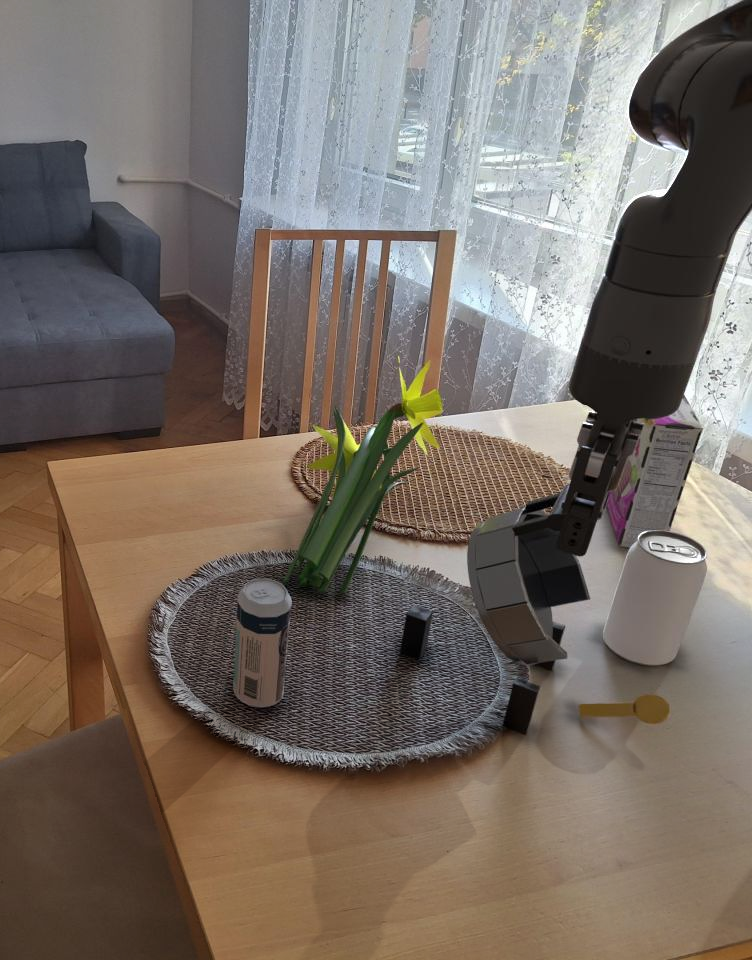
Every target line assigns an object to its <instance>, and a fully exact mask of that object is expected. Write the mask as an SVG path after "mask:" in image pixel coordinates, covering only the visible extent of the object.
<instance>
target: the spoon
mask: <svg viewBox="0 0 752 960" xmlns="http://www.w3.org/2000/svg"><path fill="white" fill-rule="evenodd" d="M578 713H579V717H580V718H618V717H619V718H622V717H636V719H637V720H639V722H642V723H645V724H649V725H657V724H661V723H664V722H665V721H666V720H667V719H669V717H670V715H671V706H670V704H669V702H668V701H667V700H666V699H665V698H664V697H662V696H660V695H658V694H652V693H648V694H647V693H646V694H642V695H640V696H638V697H637V698H635V699H634V700H633V702H602V703H598V702H597V703H579V704H578Z"/></svg>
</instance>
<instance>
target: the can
mask: <svg viewBox="0 0 752 960" xmlns="http://www.w3.org/2000/svg"><path fill="white" fill-rule="evenodd" d="M707 557H708V552H707V549H706V548H705V547H704V546H703V545H702V544H701V542H699V541H697V540H695V539H694V538H692V537H689V536H687V535H684V534H682V533H678V532H673V531H671V530H670V531H663V530H651V531H646V532H643V533H641V534H640V535H639V536H638V538H637V542H635V543H634V544H633V545H632V546H631V547H630V549H628V551H627V554H626V557H625V559H624V563H623V565H622V569H621V573H620V575H619V580H618V582H617V585H616V589H615V592H614V595H613V598H612V602H611V604H610V608H609V611H608V614H607V617H606V621H605V624H604V628H603V632H602V638H603V641H604V643H605V644H606V646H607V648H608V649H609V650H610V651H611V652H612V653H614V654H615V655H617V656H618V657H619V658H622V659H624V660H625V661H627V662H631V663H633V664H637V665H640V666H647V667H657V666H663V665H666V664H669V663H671V662H672V661H674V660H675V659H676V658H677V654H678V652H679V650H680V648H681V645H682V642H683V639H684V636H685V634H686V631H687V628H688V625H689V623H690V621H691V618H692V615H693V612H694V609H695V607H696V605H697V602H698V599H699V595H700V593H701V590H702V587H703V584H704V582H705V578H706V576H707V572H708V565H707V561H706V559H707Z"/></svg>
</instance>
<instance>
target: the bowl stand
mask: <svg viewBox="0 0 752 960" xmlns="http://www.w3.org/2000/svg"><path fill="white" fill-rule="evenodd" d="M433 615H434V610H431V609H428V608H426V607H423V606H420V605H417V604H412V605H411V607H410V608H409V609H408V611H407V612H406V614H405V619H404V625H403V633H402V636H401V637H402V638H401V643H400V644H401V645H400V649H399V654H402V655H404V656H407V657H410V658H412V659H415V660H418V661H421V658H422V657H423V655H424V654H425V652H426V650H427V646H428V641H429V635H430V630H431V625H432V619H433ZM565 629H566V625H565V624H563V623H559V622H556V621H553V635H552V639H553V640H554V641H555V642H556V643H557V644H558V645H559V646H561V644H562V640H563V636H564V633H565ZM556 661H557V660H554V661H547V662H540V663H537V664H533V666H536V667H539V668H542V669H545V670H548V671H551V672H552V671H553V670H554V667H555V665H556ZM540 689H541V685H538V684H535V683H532V682H530V681H527V680H525V679H521V678H520V677H515V679H514V681H513V684H512V686H511V691H510V695H509V699H508V703H507V706H506V710H505V715H504V718H503V721H502V727H504V728H507V729H510V730H513V731H515V732H517V733H520V734H523V735H525V736H526V735H527V734H528V731H529V729H530V726H531V722H532V718H533V715H534V710H535V709H536V708H535V707H536V703H537V700H538V696H539V693H540Z"/></svg>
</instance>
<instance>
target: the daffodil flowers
mask: <svg viewBox="0 0 752 960" xmlns="http://www.w3.org/2000/svg"><path fill="white" fill-rule="evenodd" d="M397 358H398V362H400V360H401V359H400V355H398V357H397ZM430 366H431V359H429V360H428V361H427V362H426V363H425V365H424V366H423V367H422V368H421V369H420V371H419V372H418V373H417V375H416V376H415V378H414V379H413V381H412V382H411V384H410V386H409V387H408V389H407V385H406V382H405V379H404V377H403V374H402V370H401V367H400V366H398V369H399V370H398V371H399V378H400V385H401V401H400V402H397V403H395V404H393V405H392V406H391V407H390V408H388V409H387V411H386V412H385V414H383V415H382V417H381V418H380V420H379V421H378V423H377V424H376V427H374V426H373V427H370V428H369V429H368V431H367V432H366V433H365V435H364V436H363V439H362V440H361V443H358V444H357V442H356V441H355V439H354V436H353V434H352V432H351V431H350V428H349V427H348V425H347V424H346V422H345V421H344V420H343V417H342V415H341V413H340V411H339V410H338V407H337V406H336V405H334V408H333V417H334V422H335V427H336V435H335V434H333V433H332V432H330V431H327V430H326V429H324V428H322V427H319V426H317V425H315V424H312V428H313V429H314V430H315V432H316V433H318V434H319V435H320V436H321V438H323V440H325V442H326V443H327V444H328V445H329V447H330V448H331V449H332V450H333V451H334V452H332V453H330V454H327V455H324V456H323V457H320V458H318V459H316V460H315V461H312V462H311V463H309V464H308V465H307V468H308V469H311V470H320V471H328V472H329V471H330V472H332V473H331V474H330V477H329V479H328V481H327V483H326V485H325V487H324V489H323V492H322V494H321V496H320V499H319V500H318V503H317V505H316V508H315V510H314V511H313V514H312V517H311V519H310V521H309V523H308V526H307V527H306V530H305V532H304V534H303V537H302V540H301V542H300V544H299V546H298V549H297V550H296V553H295V555H294V557H293V559H292V561H291V563H290V565H289V567H288V570H287V571H286V574H285V576H284V578H283V579H282V582H281V583H282V585H283V586H284V587H285V586H286V585H287V584H288V582H289V580H290V578H291V576H292V574H293V572H294V573H298V572H299V571H300V569H301V568H302V567H303V568H302V570H301V573H300V574H299V576H298V578H297V582H298V587H303V586H304V587H308V586H309V585H310V586H312V587H314V588H317V590H316V591H315V594H316V595H323V594H325V593H326V591H327V589H328V588H329V586H330V583H331V582H332V580H333V578H334V577H335V574H336V572H337V570H338V569H339V566H340V565H341V563H342V561H343V559H344V557H345V556H346V554H347V552H348V551H349V549H350V548H351V546H352V544H353V542H354V541H355V539H356V537H357V536H358V534H359V533H360V532H361V530H362V528H363V527H364V525H365V524H366V525H365V528H364V529H363V533H362V536H361V538H360V540H359V544H358V546H357V548H356V551H355V554H354V557H353V558H352V561H351V564H350V566H349V568H348V571H347V574H346V576H345V578H344V580H343V581H342V585H341V587H340V589H339V591H338V594H337V597H344V596H345V595H346V594H347V592H348V589H349V586H350V584H351V582H352V580H353V577H354V574H355V572H356V570H357V567H358V566H359V563H360V561H361V558H362V556H363V552H364V549H365V547H366V545H367V543H368V540H369V537H370V534H371V531H372V529H373V527H374V523H375V521H376V519H377V516H378V514H379V511H380V508H381V505H382V503H383V501H384V498H385V497H386V495H387V494H388V493H389V492H390V491H391V490H392V489H393V488H395V487H397V486H400V485H404V484H405V485H406V484H409V483H410V482H409V481H397V480H399V479H401V478H403V477H405V476H407V475H409V474H411V473H413V472H415V471H417V470H419V468H418V467H416V468H411V469H405V470H402V471H400V472H398V473H396V474H394V475H392V476H391V472H392V471H391V470H392V469H393V467H394V466H395V464H396V463H397V461H398V459H399V458H400V456H401V455H402V453H403V452H404V451H405V450H406V449H407V447H408V445H409V444H410V443H411V441H412V440H413V439H415V440H416V442H417V444H418V446H419V447H420V448H421V449H422V450H423V451H424V453H425V454H426V456H427V457H429V455H428V451H427V448H426V445H425V442H426V443H427V444H429V445H430V446H432V447H433V448H436V449H437V450H441V448H440V445H439V443H438V441H437V439H436V438H435V436H434V434H433V432H432V431H431V429H430V427H429V426H428V423H427V422H426V420H425V419H430V418H433V417H435V416H438V415H440V414H442V413H443V412H444V409H443V408H444V406H443V404H444V403H443V402H442V401H443V398H441V396H442V394H439V393H440V390H439V388H435V389H433V390H430V392H428V393H426V394H423V395H421V394H422V390H423V386H424V383H425V379H426V375H427V372H428V371H429V369H430ZM438 390H439V391H438ZM404 416H405V417H406V418H407V421H408V422H409V423H410V426H411V429H410V430H409V431H408V432H406V433H405V434H404V435H403V436H402V437H401V438H400V439H398V440H397V442H396V443H395V444H393V446H392V447H389V446H388V439H389V437H390V433H391V432H392V428H393V424H394V421H395V420H396V419H399V418H402V417H404ZM424 440H425V442H424ZM382 456H383V460H382V462H381V463H379V462H380V460H381V458H382ZM379 464H380V465H379ZM378 465H379V466H378ZM377 466H378V468H377ZM396 481H397V482H396ZM333 487H334V489H333ZM332 490H333V493H332ZM331 494H332V496H331ZM330 497H332V498H331V501H330V503H329V505H328V501H329V500H330ZM327 505H328V507H327ZM326 507H327V508H326ZM325 510H326V511H325ZM366 522H367V523H366ZM305 561H306V563H305V564H304V562H305ZM297 563H298V564H297ZM303 564H304V566H303Z"/></svg>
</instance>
